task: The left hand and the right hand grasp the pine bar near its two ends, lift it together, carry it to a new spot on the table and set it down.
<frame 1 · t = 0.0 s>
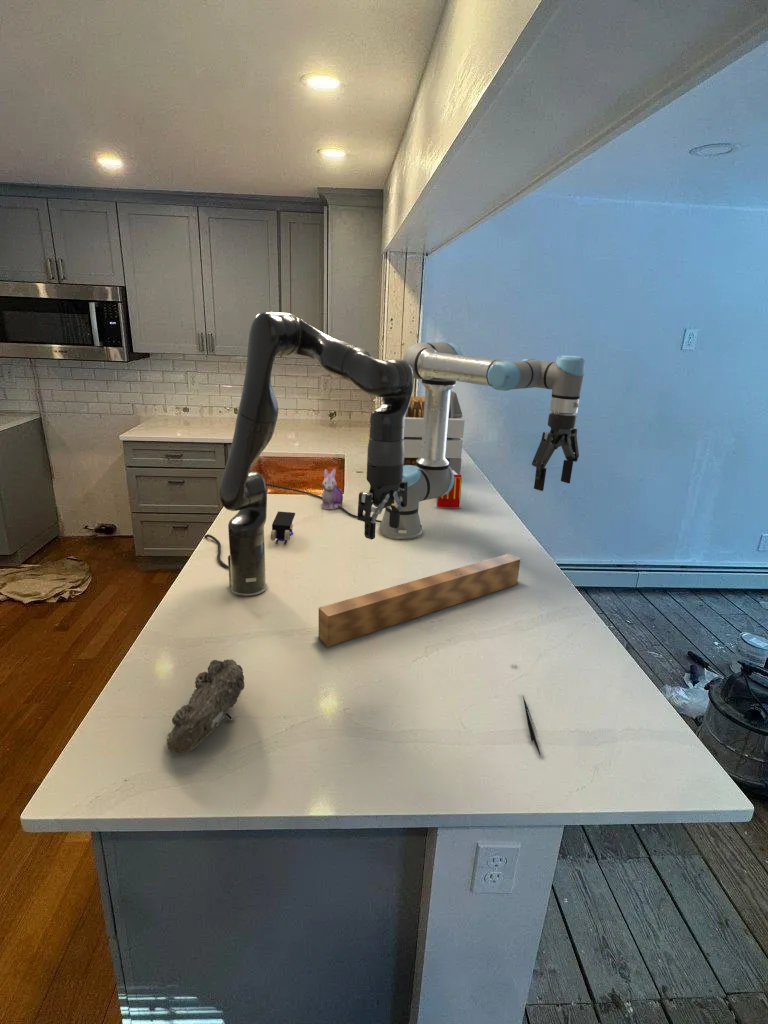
left hand: (382, 532, 122), 29 cm above the counter, tool pointing down, fingers open, 8 cm apart
right hand: (552, 485, 166), 28 cm above the counter, tool pointing down, fingers open, 13 cm apart
black wheeled block: (283, 539, 191), on the counter
grey crate: (419, 473, 275), on the counter
bar: (428, 607, 151), on the counter
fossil: (212, 717, 108), on the counter
feather: (524, 707, 115), on the counter
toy: (443, 497, 241), on the counter
figurine: (332, 506, 224), on the counter
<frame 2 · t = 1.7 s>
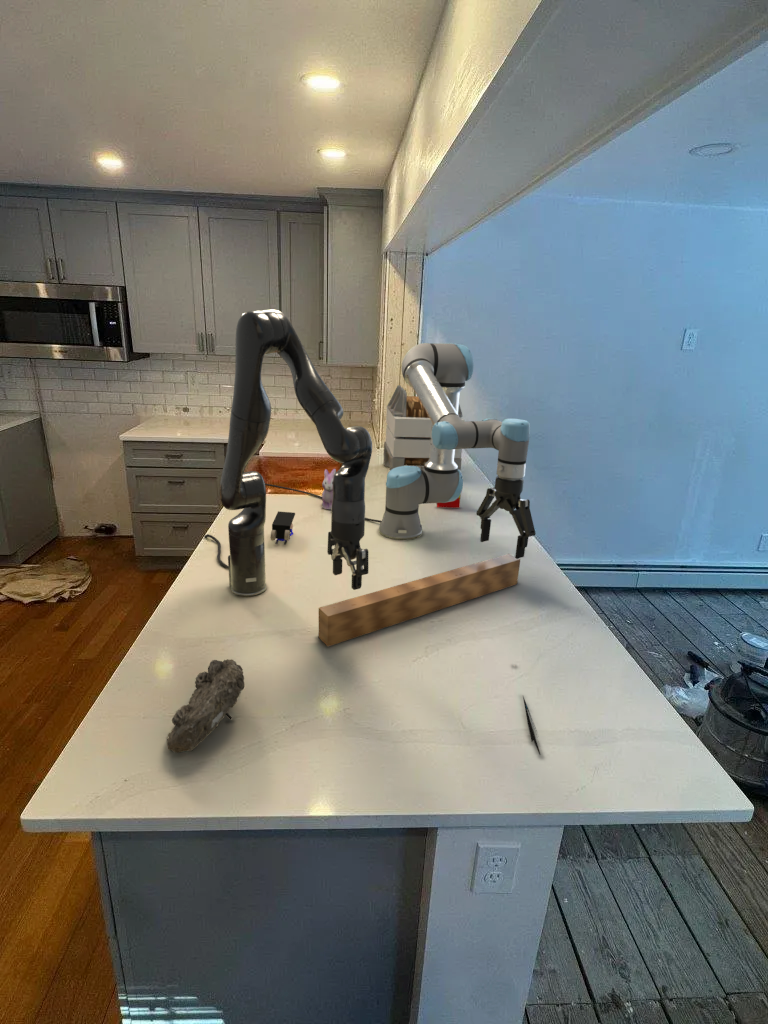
left hand: (346, 581, 132), 14 cm above the counter, tool pointing down, fingers open, 8 cm apart
right hand: (501, 549, 161), 12 cm above the counter, tool pointing down, fingers open, 13 cm apart
nothing on the counter moved.
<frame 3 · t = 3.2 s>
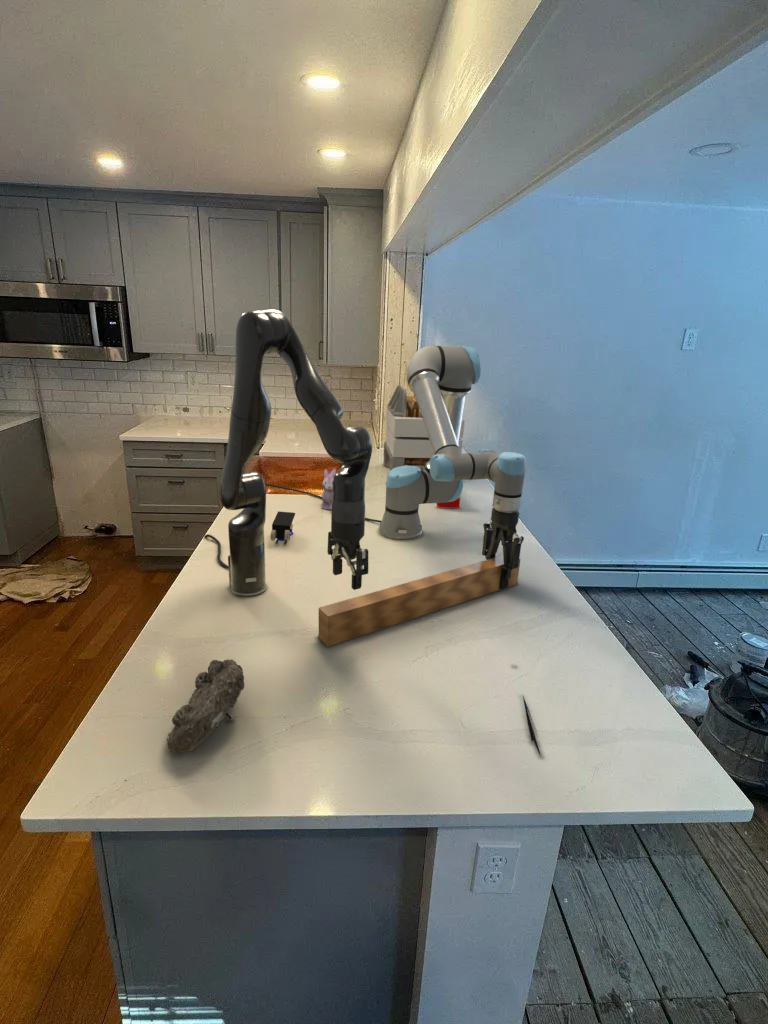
left hand: (346, 581, 132), 14 cm above the counter, tool pointing down, fingers open, 8 cm apart
right hand: (496, 584, 165), 1 cm above the counter, tool pointing down, fingers closed on bar, 5 cm apart
bar: (428, 607, 151), on the counter, touching right hand
everything else where it was.
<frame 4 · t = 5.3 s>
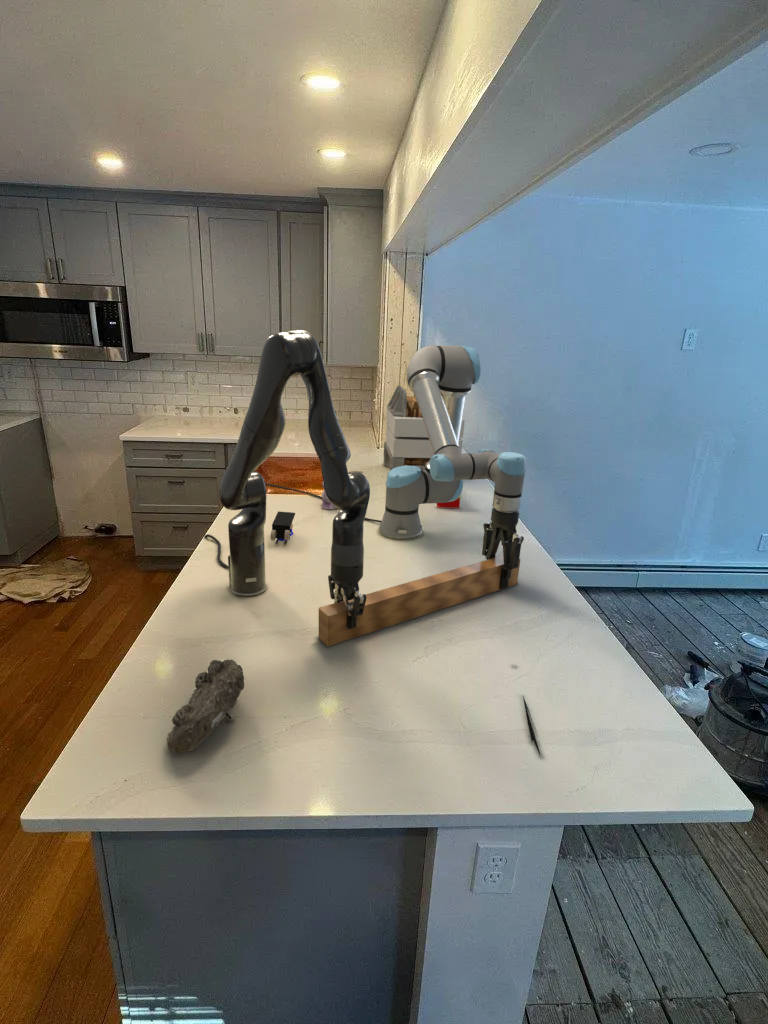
left hand: (345, 622, 136), 3 cm above the counter, tool pointing down, fingers closed on bar, 4 cm apart
right hand: (496, 584, 165), 1 cm above the counter, tool pointing down, fingers closed on bar, 5 cm apart
bar: (428, 607, 151), on the counter, touching right hand, left hand
everything else where it was.
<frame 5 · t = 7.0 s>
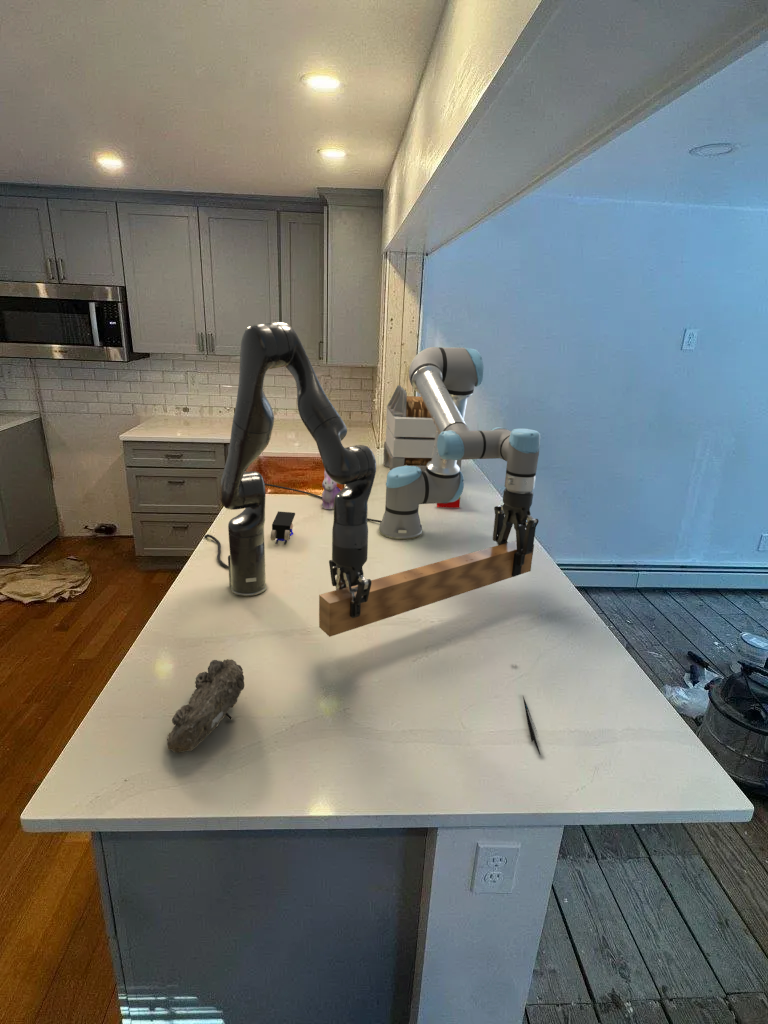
left hand: (348, 611, 125), 11 cm above the counter, tool pointing down, fingers closed on bar, 4 cm apart
right hand: (508, 571, 154), 9 cm above the counter, tool pointing down, fingers closed on bar, 5 cm apart
bar: (436, 596, 140), point 8 cm above the counter, touching right hand, left hand
everything else where it was.
when the right hand's fingers open (2 cm above the counter, at t = 8.7 s): bar drops 2 cm, on the counter.
when the left hand's fingers open (5 cm above the counter, at t = 8.8 s): bar stays where it is, on the counter.
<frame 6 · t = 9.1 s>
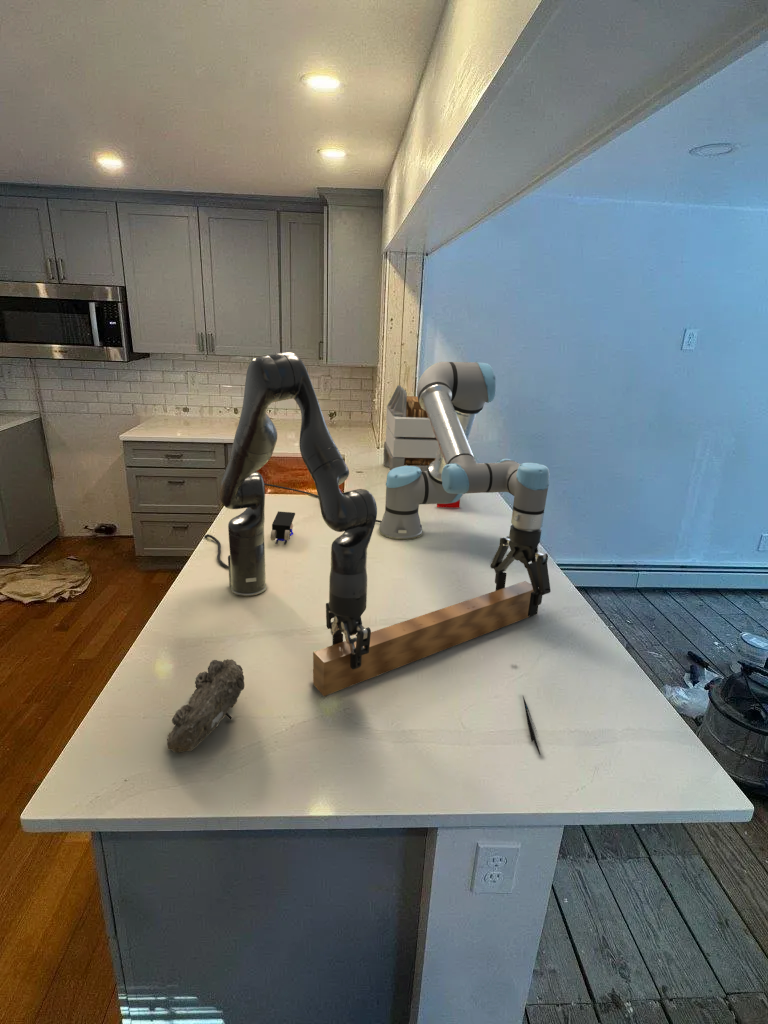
left hand: (346, 658, 119), 6 cm above the counter, tool pointing down, fingers open, 6 cm apart
right hand: (515, 605, 147), 4 cm above the counter, tool pointing down, fingers open, 11 cm apart
bar: (436, 645, 134), on the counter
everything else where it was.
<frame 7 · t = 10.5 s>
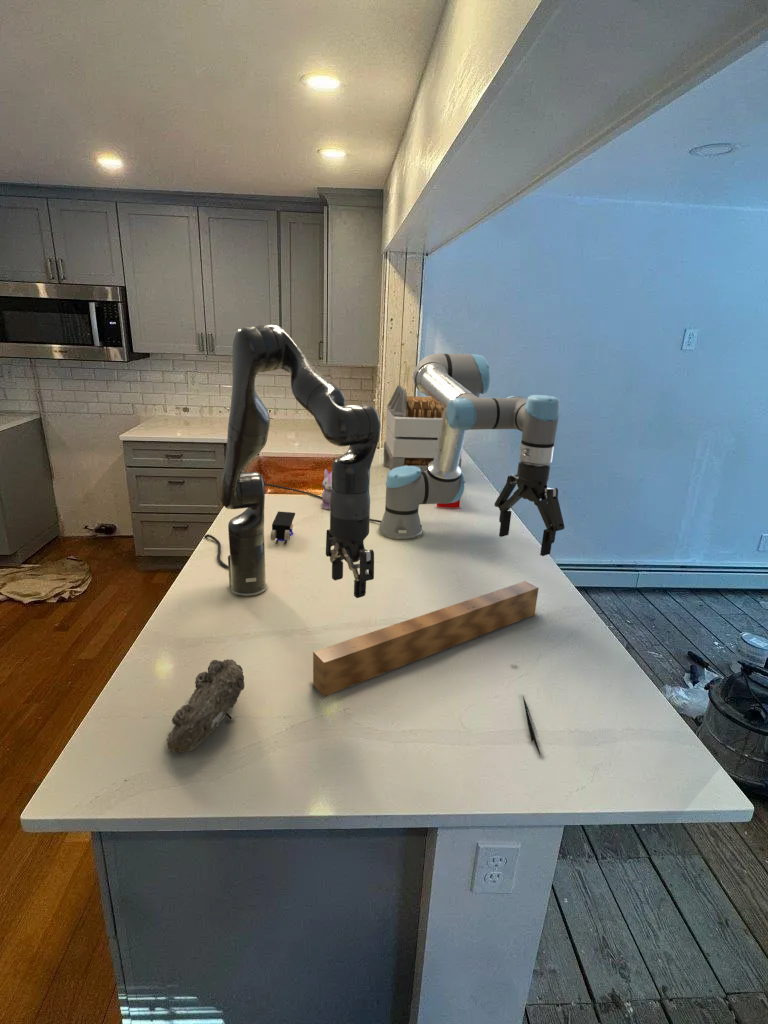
left hand: (348, 587, 113), 22 cm above the counter, tool pointing down, fingers open, 8 cm apart
right hand: (523, 544, 141), 21 cm above the counter, tool pointing down, fingers open, 13 cm apart
nothing on the counter moved.
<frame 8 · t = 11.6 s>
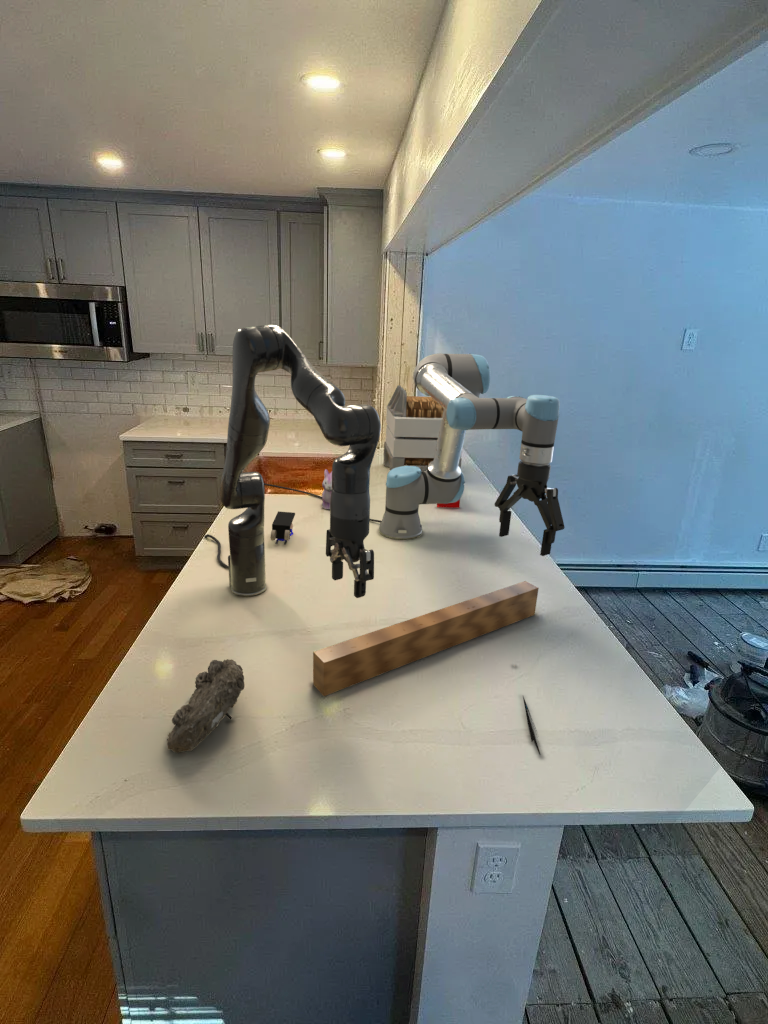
left hand: (348, 587, 113), 22 cm above the counter, tool pointing down, fingers open, 8 cm apart
right hand: (523, 544, 141), 21 cm above the counter, tool pointing down, fingers open, 13 cm apart
nothing on the counter moved.
at the end: bar inside the target area (0.5 cm from its centre), on the counter; bar tilted 0°; bar never tilted more than 2° during the clip; both hands held the bar at the same time; the left hand is holding nothing; the right hand is holding nothing; bar at rest at the end (0.0 cm/s) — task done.
